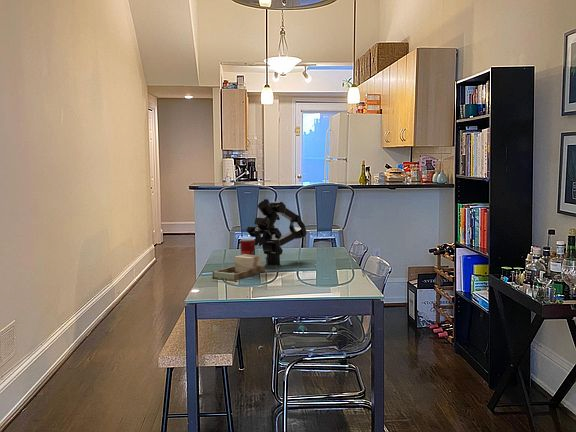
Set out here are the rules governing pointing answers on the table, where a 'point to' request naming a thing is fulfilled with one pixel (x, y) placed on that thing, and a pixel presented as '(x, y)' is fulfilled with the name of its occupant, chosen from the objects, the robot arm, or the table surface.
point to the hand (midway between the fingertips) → (257, 245)
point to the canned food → (248, 246)
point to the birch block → (247, 262)
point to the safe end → (224, 276)
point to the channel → (241, 274)
